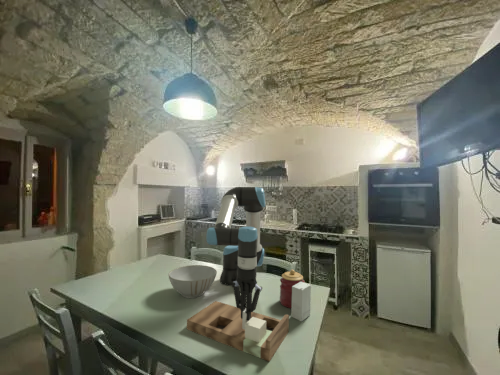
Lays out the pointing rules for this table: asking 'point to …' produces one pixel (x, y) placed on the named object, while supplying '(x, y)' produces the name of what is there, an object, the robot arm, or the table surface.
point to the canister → (288, 287)
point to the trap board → (238, 329)
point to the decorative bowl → (192, 279)
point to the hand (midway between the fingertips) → (245, 327)
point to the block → (255, 329)
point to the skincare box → (301, 301)
